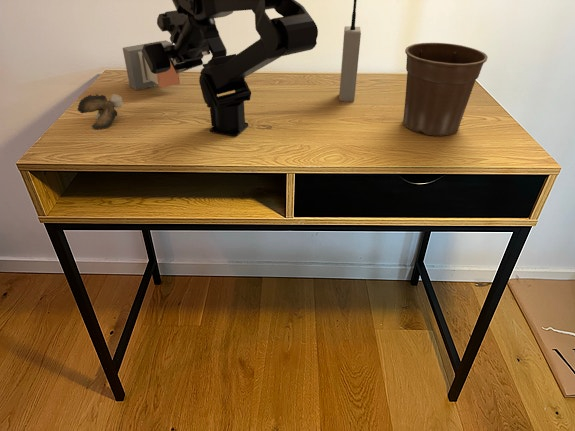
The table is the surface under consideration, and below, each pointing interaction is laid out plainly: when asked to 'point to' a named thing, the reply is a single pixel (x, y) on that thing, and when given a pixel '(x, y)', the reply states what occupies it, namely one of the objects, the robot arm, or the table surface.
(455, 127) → the plant pot
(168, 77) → the plunger
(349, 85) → the vintage mobile phone
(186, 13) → the robot arm
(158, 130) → the table surface
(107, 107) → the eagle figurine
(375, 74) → the table surface
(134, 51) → the box
